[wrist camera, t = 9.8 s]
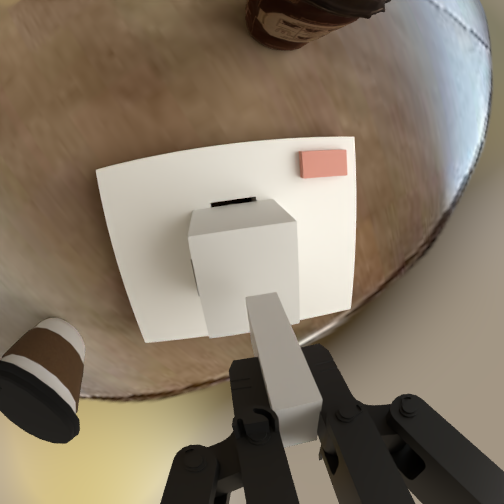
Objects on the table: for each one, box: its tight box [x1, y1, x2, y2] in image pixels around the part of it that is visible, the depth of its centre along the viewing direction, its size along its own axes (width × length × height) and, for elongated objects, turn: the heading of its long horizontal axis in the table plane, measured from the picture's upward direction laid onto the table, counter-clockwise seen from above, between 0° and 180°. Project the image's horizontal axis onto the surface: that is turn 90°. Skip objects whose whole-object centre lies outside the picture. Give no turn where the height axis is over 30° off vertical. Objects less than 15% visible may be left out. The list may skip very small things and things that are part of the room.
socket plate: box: [96, 136, 356, 343], centre depth 23 cm, size 16×20×4 cm
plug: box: [188, 199, 300, 338], centre depth 20 cm, size 7×6×9 cm
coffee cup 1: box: [0, 318, 85, 443], centre depth 21 cm, size 11×11×12 cm
